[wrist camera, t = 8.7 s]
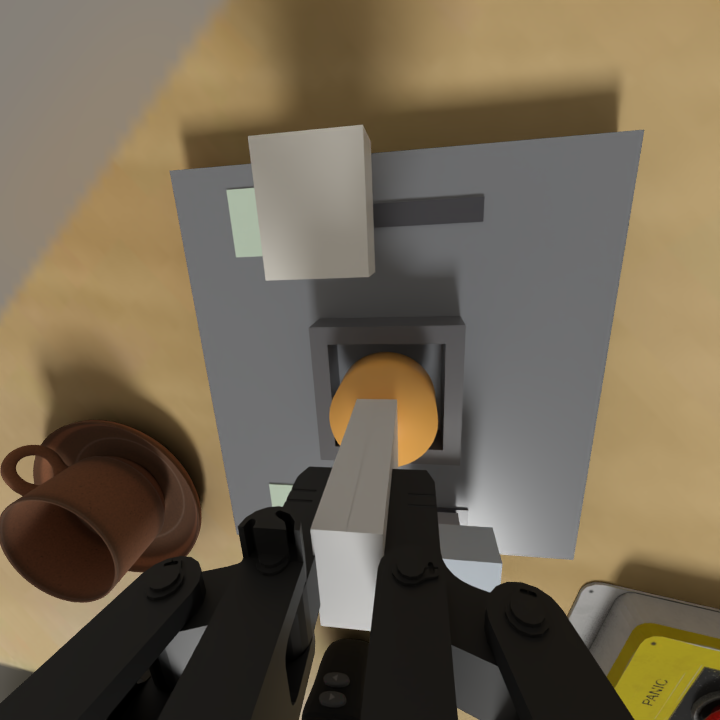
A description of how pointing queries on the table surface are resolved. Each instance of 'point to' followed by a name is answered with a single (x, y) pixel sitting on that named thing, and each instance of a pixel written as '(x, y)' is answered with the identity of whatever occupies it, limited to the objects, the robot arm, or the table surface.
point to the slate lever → (470, 552)
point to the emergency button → (653, 650)
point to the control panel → (429, 324)
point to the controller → (339, 682)
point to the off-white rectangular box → (314, 203)
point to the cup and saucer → (96, 509)
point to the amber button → (390, 381)
